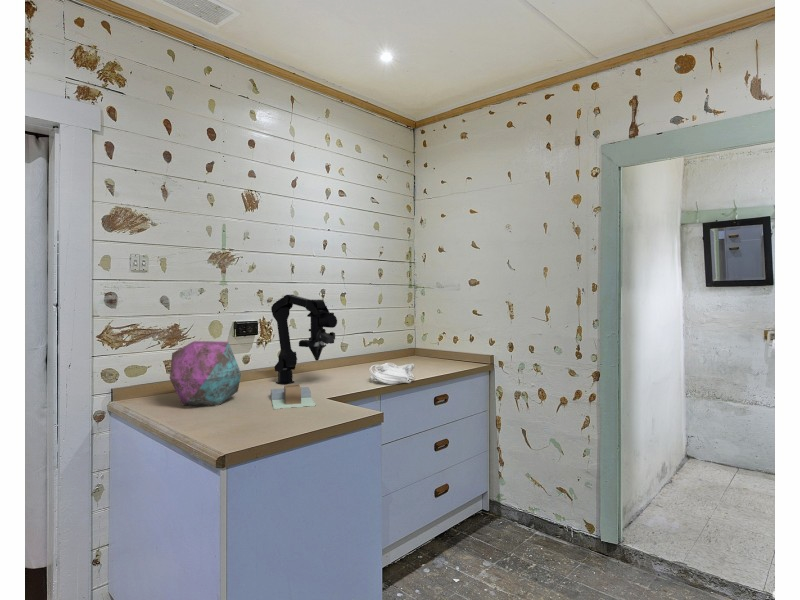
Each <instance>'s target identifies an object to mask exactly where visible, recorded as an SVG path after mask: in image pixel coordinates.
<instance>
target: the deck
mask: <svg viewBox="0 0 800 600" xmlns="http://www.w3.org/2000/svg"><path fill="white" fill-rule="evenodd" d="M300 387H301V398H309V397H311V398H312V390H311V388H310V387H309V386H300ZM270 399H272V400H280V399H284V387H283V388H271V389H270ZM272 400H271V401H272Z"/></svg>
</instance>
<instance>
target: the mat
mask: <svg viewBox="0 0 800 600" xmlns="http://www.w3.org/2000/svg"><path fill="white" fill-rule="evenodd" d="M271 403H272V408H273V410H281V409H280V408H283V409H292V408H291V407H297V408H304V407H303V406H310V407H316V406H315V405H316V403H315V401H314V400H313V398H312V396H311V397H309V398H301V404H289V405H286V404H285V401H284V399H280V400H271Z"/></svg>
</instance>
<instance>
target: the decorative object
mask: <svg viewBox="0 0 800 600" xmlns="http://www.w3.org/2000/svg"><path fill="white" fill-rule="evenodd" d="M241 376H242V372H241V369H240V367H239V365H238V362H237V360H236V358H235V355H234V352H233V350H232V348H231V344H230V343H229V341H212V340H211V341H209V340H208V341H205V340H204V341H202V340H201V341H198V340H194V341H192V342H190V343H188V344H186V345H185V346H184V345H183V346H182V347H181V348H179V349H177V350H175V351H173V352H172V354H171V364H170V372H169V380H170V382H171V384H172V386H173V388H174V389H175V390H174V391H175V392H176V394H177V396H178V398H179V400H180V402H181V404H182V405H183V404H190V405H189V406H208V405H219V406H220V405H221V404H223V403H224V402H225V401H227V400H228V399H230V398H231V397H232V396H234V395H235V394H236V393H238V392H239V387H240V381H241Z"/></svg>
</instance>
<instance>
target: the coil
mask: <svg viewBox="0 0 800 600" xmlns="http://www.w3.org/2000/svg"><path fill="white" fill-rule="evenodd" d="M373 368H374V370H372V369H373ZM414 369H415V364H414V363H406V364H404V365H397V364H395V363H393V362H385V363H383V364H372V365H371V366H370V367H369V369H368V371H369V374H370V375H369V376H370V377H369V379H370V380H371V381H372V382H374V383H378V382H379V383H380V382H381V383H384V384H387V385H388V384H389V385H395V384H396V385H397V384H400V383H404V384H410V383H411V382H412V381H411V380H413V381H416V379H415V376H414V374H413V373H412V371H413V370H414ZM375 380H376V381H375ZM408 380H409V381H408Z"/></svg>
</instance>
